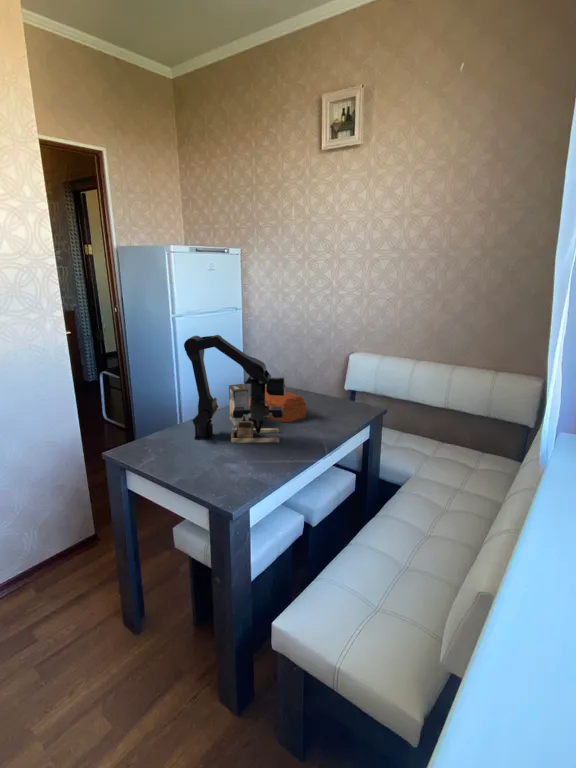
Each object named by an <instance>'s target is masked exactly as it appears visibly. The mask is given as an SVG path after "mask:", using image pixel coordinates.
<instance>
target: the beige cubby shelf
mask: <svg viewBox="0 0 576 768" xmlns="http://www.w3.org/2000/svg"><path fill="white" fill-rule="evenodd" d="M279 431H280V430H279V428H276V427H275V428H269V427H268V428H261V429H260V433H259V434H264V433H265V434H272V433H273V434H274V433H277V434H279ZM236 434H237V428H236V427H232V428H231V433H230V442H231V443H233V444H238V443H239V444H240V443H244V444H245V443H248V444H249V443H251V444H252V443H280V437H253V438H237V437H235V436H236ZM253 434H258V433H257V431H256V428H253Z"/></svg>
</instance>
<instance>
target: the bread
mask: <svg viewBox="0 0 576 768" xmlns="http://www.w3.org/2000/svg"><path fill="white" fill-rule="evenodd" d="M266 386H267V385H265V406H269V409H272V406H281V407H282V410H283V417H282V418H274V417H273V416H272V414H269V415H268V418H269V419H273V420H275V421H278V422H282V423H292V422H294V421H296V420H301V419H305V418H306V415H307V406H306V404H307V403H306V402H305V399H304V398H303V397H302V396H300V395H297V394H294V393H291V392H289V391H286V390H285V396H275V395H269V394H268V393H267V391H266ZM248 408H250V397H248Z"/></svg>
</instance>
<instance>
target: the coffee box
mask: <svg viewBox="0 0 576 768" xmlns="http://www.w3.org/2000/svg"><path fill="white" fill-rule="evenodd" d="M228 398H229V399H228V400H229V420H230V421H231V423H232V424H233V425H234V427H237V424H238V422H250V420H249V419H248V418H249V416H248V415H243V417H242V418H233V410H234V408H235V407H244V409H249V389H248V388H247V387H246V385H245V383H237V384H229V385H228Z"/></svg>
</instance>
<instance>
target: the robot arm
mask: <svg viewBox="0 0 576 768" xmlns="http://www.w3.org/2000/svg"><path fill="white" fill-rule="evenodd" d="M183 348H184V351H185V354H186V356H187V358H188V359H189V361H190V362H191V367H192V370H193V375H194V380H195V385H196V390H197V396H198V402H197V414H196V415H195V417H194V418H193V419H192V423H193V425H194V440H211V439H212V438H213V436H214V433H215V430H214V427H215V426H214V423H213V420H212V419H213V417H214V416H215V415H216V413H217V411H218V408H219V405H218V401H217V397H213V396H212V394H211V391H210V385H209V382H208V375H207V371H206V365H205V360H204V358H205V350H207V349H211V348H212V349H213V348H215V349H216V350H218V351H219V352H221V353H223V354H224V355H225V356H226V357H228V358H230V359H231V360H233V362H235V363H237V364H238V365H239V366H240V367H241V368H242V369H243V370H244V371H245V373H246V374H247V375H248V378H247V379H245V381H244V385H249V394H250V396H249V398H250V407H249V408H248V409H244V407H235V408H234V410H233V418H242V417H243V415H248V416H249V418H248V419H249V421H251V422H253V427H254V429H256V431H257V433H256V434H261V433H260V429H262V426H263V424H264V422H265V421H266V420H268V418H269V417H268V415H269V414H272V416H273V417H274V418H282V417H283V410H282V407H281V406H272V409H269V406H265V386H266V391H267V393H268V394H269V395H275V396H285V391H286V382H285V377H272V375H271V373H270V372H269V371H268V370H267V366H266V364H265V363H264V361H262V360H260V359H258V358H256V357H252V356H249V355H248V354H246V353H244V352H243V351H242V350H240V349H239V348H237V347H236V346H234V345H233V344H232V343H230V342H229V341H227V340H226V339H224V338H223V337H222V336H221V335H220V334H216V335H205V336H199V335H193V336H191V337H189V338H187V339H186V340H185V342H184V343H183Z"/></svg>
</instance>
